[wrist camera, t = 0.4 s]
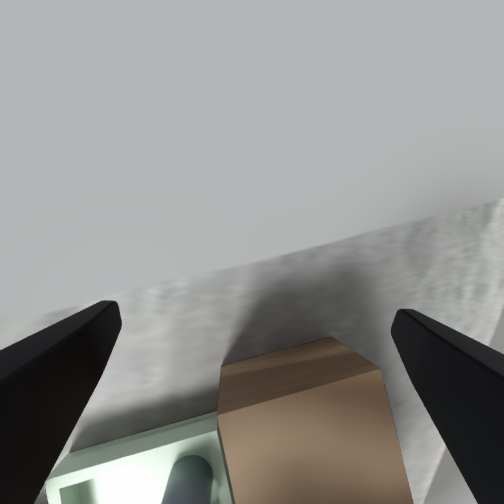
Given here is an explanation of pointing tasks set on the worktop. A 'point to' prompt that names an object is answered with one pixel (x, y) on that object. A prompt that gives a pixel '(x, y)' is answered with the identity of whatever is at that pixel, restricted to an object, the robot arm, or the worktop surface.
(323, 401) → the shelf
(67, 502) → the tray
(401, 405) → the worktop surface
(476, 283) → the worktop surface
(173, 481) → the grey smooth round-ended part
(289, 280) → the worktop surface
